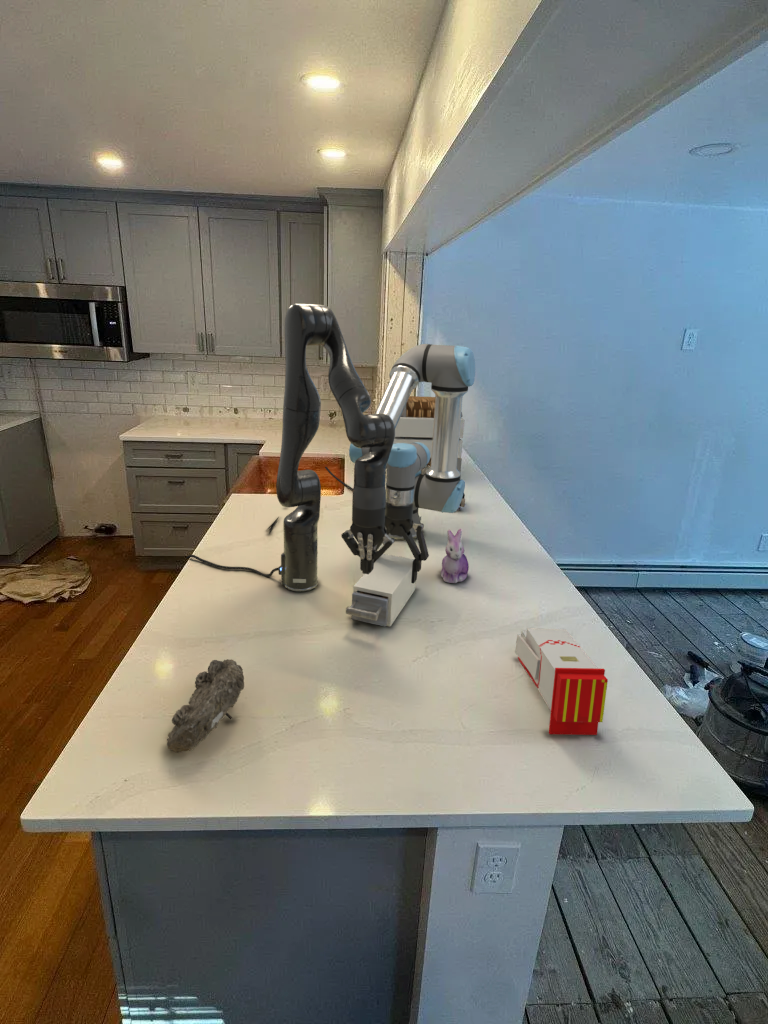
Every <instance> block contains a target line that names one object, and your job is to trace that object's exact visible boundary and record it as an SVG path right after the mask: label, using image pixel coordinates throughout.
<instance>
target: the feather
mask: <svg viewBox="0 0 768 1024" xmlns="http://www.w3.org/2000/svg"><path fill="white" fill-rule="evenodd" d="M284 508H285V509H287V507H284ZM279 517H280V516H278V517H277V518H276V519H275V520H274V521H273V522H272V523H271V524H270V525H269V526H268V528H266V531H267V530H268V531H269V532H268V535H270V533H271V532H272V530H273V528H274V527H275V525H276V523H277V521H278V519H279Z"/></svg>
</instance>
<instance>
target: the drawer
mask: <svg viewBox="0 0 768 1024" xmlns="http://www.w3.org/2000/svg"><path fill="white" fill-rule="evenodd" d="M345 614H346V615H349V616H351V620H354V621H358V622H363V623H367V624H372V625H377V626H381V627H387V626H386V625H387V616H388V597H386V596H381V595H376V594H372V593H367V592H362V591H360V593H357V592H353V591H352V594H351V605H350V606H347V607H346V608H345Z"/></svg>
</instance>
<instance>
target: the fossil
mask: <svg viewBox="0 0 768 1024" xmlns="http://www.w3.org/2000/svg"><path fill="white" fill-rule="evenodd" d="M243 670H244V669H243V667H242V665H240V664H237V662H236V661H235V660H234V659H232V658H231V659H227V658H226V659H224V660H223V661H222V660H217V659H212V660H211V661H210V663H209V665H208V666H207V671H201V672H199V673H198V674H197V675H196V676H195V680H194V684H195V685H194V687H195V689H194V690H193V693H192V694H191V697H190V698H189V700H188V704H184V705H182V706H181V707H180V709H177V710H176V711H175V713H174V715H173V716H172V718H171V723H172V724H173V727H172V730H171V731H170V732H168V734H167V738H166V741H167V742H166V745H167V749H168V750H169V751H173V752H174V753H176V754H178V753H182V752H188V751H189V752H192V751H193V750H195V748H196V747H197V746H199V744H200V743H201V742H203V741H204V740H205V739H206V738H207V737H208V736H209V735H210V734H211V733H212V732H214V730H215V729H217V727H218V726H219V724H220V722H221V721H222V720H223V719H224V718H225V716H226V717H227V719H229V720H233V717H232V715H230V714H229V710H230V709H231V708H234V706H235V704H236V703H237V702H238V699H239V697H240V695H241V693H242V691H243V690H245V689H244V688H245V675H244V671H243Z"/></svg>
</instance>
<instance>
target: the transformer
mask: <svg viewBox="0 0 768 1024" xmlns="http://www.w3.org/2000/svg"><path fill="white" fill-rule="evenodd" d="M434 410H435V396H415V395H414V396H413V395H412V396H411V395H410V396H409V399H408V401H407V403H406V406H405V408H404V410H403V412H402V415H401V417H400V419H399V422H398V424H397V426H396V429H395V439H394V443H407V444H411V443H415V442H420V443H423V444H424V445H426V446H427V447H428V449H429V451H430V460H429V462H428V464H427V465H426V466H425V467H431V454H432V440H433V425H434ZM464 429H465V419H464V418H463V411H461V421H460V432H459V444H458V456H457V467H456V468H457V470H458V471H459V472H460V474H461V472H462V461H463V460H462V453H463V442H464V441H463V440H462V439H463V438H464V431H465V430H464Z"/></svg>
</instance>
